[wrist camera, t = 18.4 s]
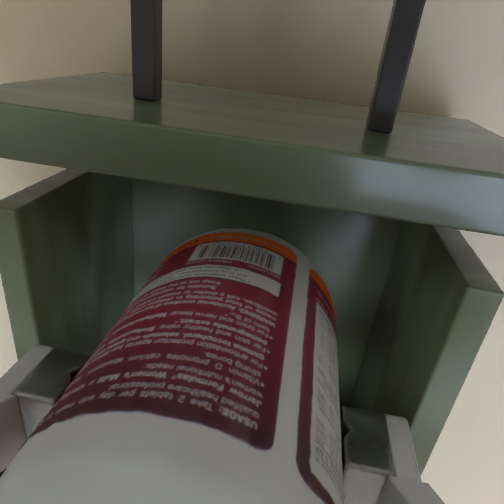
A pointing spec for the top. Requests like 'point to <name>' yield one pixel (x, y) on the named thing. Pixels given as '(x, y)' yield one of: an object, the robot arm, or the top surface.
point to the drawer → (260, 211)
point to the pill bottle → (201, 389)
